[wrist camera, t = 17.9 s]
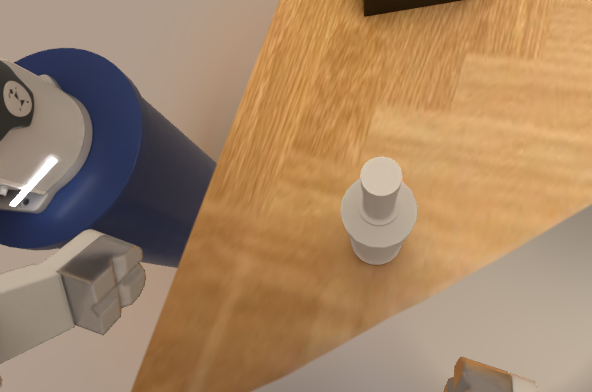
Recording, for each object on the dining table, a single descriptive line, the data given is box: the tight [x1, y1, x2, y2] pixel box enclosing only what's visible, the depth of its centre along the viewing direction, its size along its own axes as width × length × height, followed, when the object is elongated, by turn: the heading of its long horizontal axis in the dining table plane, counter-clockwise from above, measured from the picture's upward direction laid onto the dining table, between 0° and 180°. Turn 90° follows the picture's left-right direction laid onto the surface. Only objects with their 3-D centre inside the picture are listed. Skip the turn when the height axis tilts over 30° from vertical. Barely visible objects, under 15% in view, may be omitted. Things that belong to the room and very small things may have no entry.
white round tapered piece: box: [341, 157, 417, 265], centre depth 34 cm, size 5×5×25 cm
